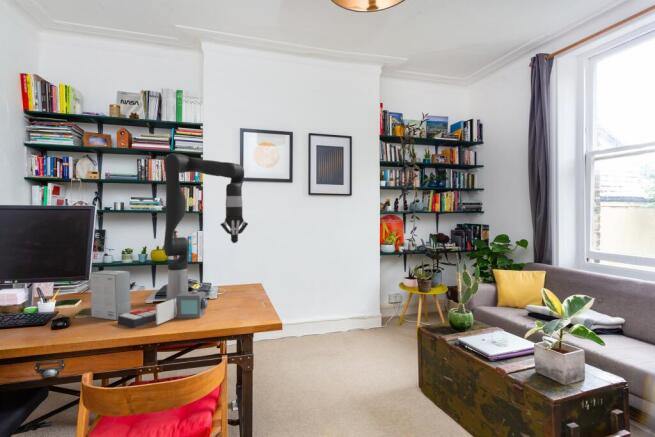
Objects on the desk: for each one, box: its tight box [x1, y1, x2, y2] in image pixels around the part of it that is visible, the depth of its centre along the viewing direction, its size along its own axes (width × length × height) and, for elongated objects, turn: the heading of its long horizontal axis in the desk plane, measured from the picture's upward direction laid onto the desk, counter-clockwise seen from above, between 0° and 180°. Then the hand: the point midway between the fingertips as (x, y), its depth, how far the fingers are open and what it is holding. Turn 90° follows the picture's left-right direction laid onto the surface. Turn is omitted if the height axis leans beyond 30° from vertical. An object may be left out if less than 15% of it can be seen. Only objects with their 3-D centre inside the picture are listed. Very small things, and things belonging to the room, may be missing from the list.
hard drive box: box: [89, 269, 132, 321], centre depth 151 cm, size 16×8×20 cm, turn 71°
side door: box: [155, 299, 175, 325], centre depth 142 cm, size 9×2×8 cm, turn 161°
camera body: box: [174, 289, 209, 319], centre depth 151 cm, size 13×8×11 cm, turn 91°
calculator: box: [117, 307, 156, 329], centre depth 145 cm, size 11×4×15 cm
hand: (234, 242), depth 159 cm, fingers closed
